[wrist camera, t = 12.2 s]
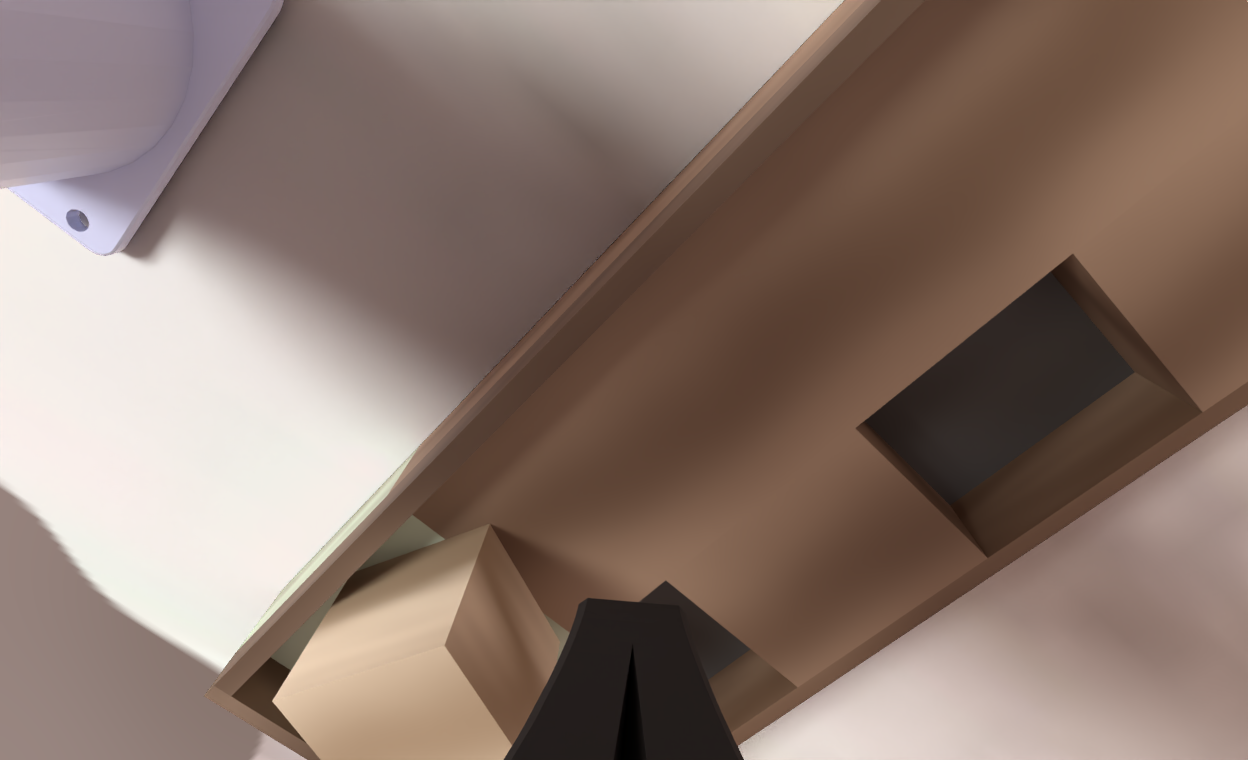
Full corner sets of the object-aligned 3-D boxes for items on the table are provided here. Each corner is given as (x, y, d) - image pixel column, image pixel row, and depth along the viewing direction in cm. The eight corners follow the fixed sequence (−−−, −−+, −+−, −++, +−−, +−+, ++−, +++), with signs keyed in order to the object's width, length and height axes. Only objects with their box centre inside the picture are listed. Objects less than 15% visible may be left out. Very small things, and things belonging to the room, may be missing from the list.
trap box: (282, 590, 21) (203, 695, 17) (1016, -180, 13) (1157, -285, 9) (573, 787, 24) (559, 913, 20) (1317, 255, 16) (1515, 305, 12)
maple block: (351, 572, 18) (271, 701, 14) (489, 524, 17) (444, 645, 13) (429, 682, 19) (375, 825, 15) (559, 642, 18) (536, 781, 15)
